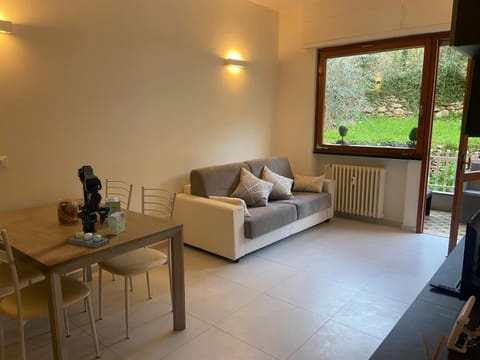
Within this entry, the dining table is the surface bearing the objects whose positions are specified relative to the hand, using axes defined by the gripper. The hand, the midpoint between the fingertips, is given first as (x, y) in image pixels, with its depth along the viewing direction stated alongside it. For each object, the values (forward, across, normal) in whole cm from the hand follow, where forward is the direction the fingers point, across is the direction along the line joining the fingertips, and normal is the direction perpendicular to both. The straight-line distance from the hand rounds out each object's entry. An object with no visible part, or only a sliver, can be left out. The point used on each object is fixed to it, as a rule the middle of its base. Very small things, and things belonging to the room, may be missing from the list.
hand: (95, 226), depth 200 cm
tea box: (+10, -42, -29) cm, 51 cm away
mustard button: (+8, 0, -13) cm, 16 cm away
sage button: (+8, -1, +1) cm, 8 cm away
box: (+10, -22, -6) cm, 25 cm away
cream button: (+8, -1, -6) cm, 11 cm away
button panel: (+10, -1, -6) cm, 12 cm away
